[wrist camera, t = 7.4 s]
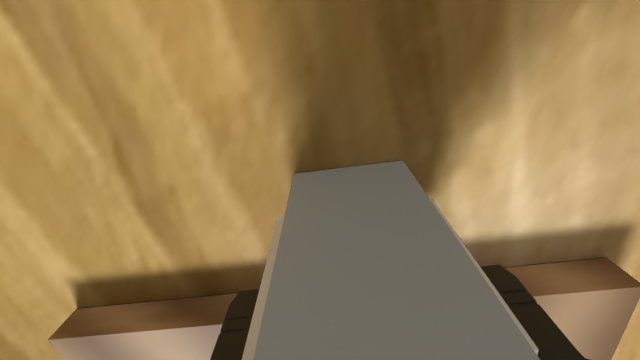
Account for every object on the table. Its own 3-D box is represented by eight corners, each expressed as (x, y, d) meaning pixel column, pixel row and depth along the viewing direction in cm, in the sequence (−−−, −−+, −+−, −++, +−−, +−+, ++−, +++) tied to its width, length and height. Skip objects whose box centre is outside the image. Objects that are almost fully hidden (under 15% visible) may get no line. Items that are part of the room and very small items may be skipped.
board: (142, 403, 21) (125, 438, 20) (76, 308, 17) (46, 340, 15) (564, 373, 20) (590, 408, 18) (606, 257, 15) (646, 287, 13)
